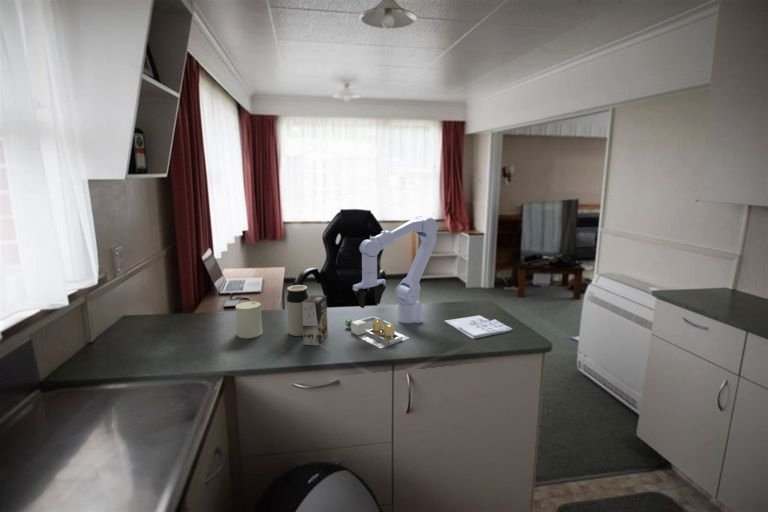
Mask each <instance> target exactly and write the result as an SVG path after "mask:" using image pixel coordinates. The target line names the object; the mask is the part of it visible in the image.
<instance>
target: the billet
mask: <svg viewBox="0 0 768 512" xmlns="http://www.w3.org/2000/svg"><path fill="white" fill-rule="evenodd" d="M383 320H384V319H382V318H380V319H374V320H372V329H373V333H374V334H376V335H379V334H382V333H383V328H384V327H383V325H384V322H383Z"/></svg>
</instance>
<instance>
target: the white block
mask: <svg viewBox="0 0 768 512" xmlns="http://www.w3.org/2000/svg"><path fill="white" fill-rule="evenodd" d="M350 329H351V330H350V331H351V333H352V334H354V335H355V336H361V335H363V334H366V329H367V322H364V321H362V320H361V319H358V320H353V321H352V322H351V326H350Z"/></svg>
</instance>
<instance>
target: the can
mask: <svg viewBox="0 0 768 512" xmlns="http://www.w3.org/2000/svg"><path fill="white" fill-rule="evenodd" d="M261 305H262V303H261V302H259V301H252V300H251V301H245V302H244V301H242V302H240V303H237V304H236V305H235V311H236V312H235V313H236V314H235V316H236V328H237V337H238V338H240V339H253V338H257V337H260V336H261V335H262V334H263V332H264V331H263V325H262V323H263V322H262V308H261Z"/></svg>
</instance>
